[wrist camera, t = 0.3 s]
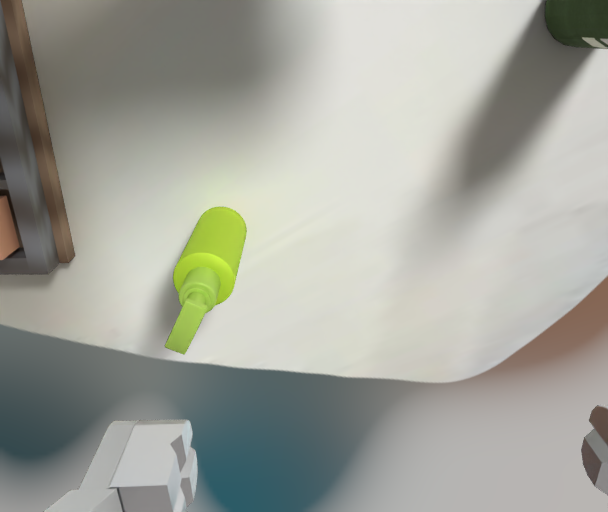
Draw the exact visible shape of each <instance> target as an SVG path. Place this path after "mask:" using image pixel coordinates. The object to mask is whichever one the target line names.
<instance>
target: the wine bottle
mask: <svg viewBox="0 0 608 512" xmlns="http://www.w3.org/2000/svg"><path fill="white" fill-rule="evenodd" d="M545 19H546V23H547V27H548V30H549V31H550V33H551V34H552V36H553V37H554V38H555V39H556V40H558V41H559V42H561V43H562V44H564V45H568V46H573V47H584V48H601V49H608V0H547V1H546V8H545Z"/></svg>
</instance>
